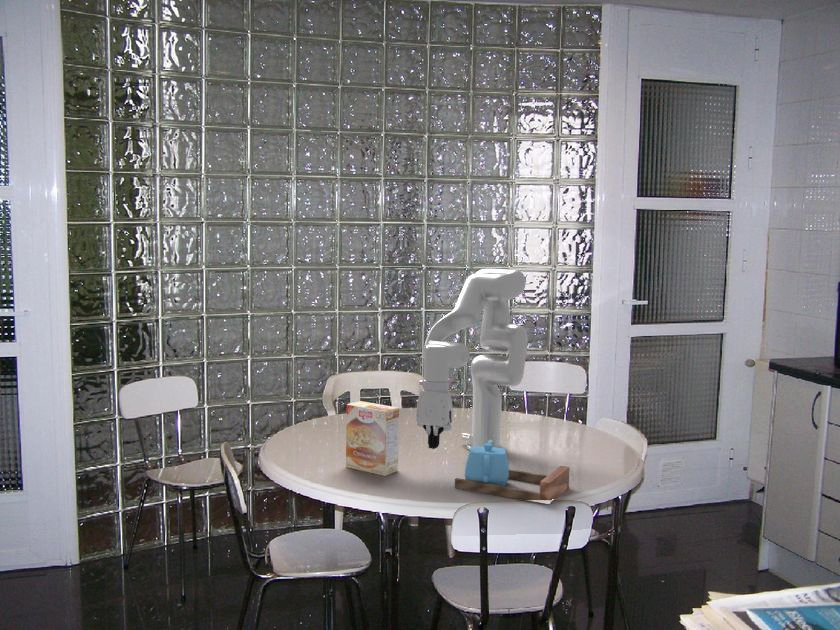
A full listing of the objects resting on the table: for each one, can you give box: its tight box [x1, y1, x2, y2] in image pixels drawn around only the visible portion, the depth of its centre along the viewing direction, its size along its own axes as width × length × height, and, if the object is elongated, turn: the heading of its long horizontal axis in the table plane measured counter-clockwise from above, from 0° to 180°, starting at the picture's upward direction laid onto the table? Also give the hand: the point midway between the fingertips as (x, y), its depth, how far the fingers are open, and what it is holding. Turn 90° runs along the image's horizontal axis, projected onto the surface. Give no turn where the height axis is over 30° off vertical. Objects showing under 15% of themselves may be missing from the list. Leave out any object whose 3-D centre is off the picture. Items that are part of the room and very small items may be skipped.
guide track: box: [454, 465, 570, 501], centre depth 223 cm, size 28×17×6 cm, turn 62°
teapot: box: [464, 440, 510, 487], centre depth 226 cm, size 12×18×12 cm
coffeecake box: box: [345, 400, 400, 477], centre depth 237 cm, size 15×7×20 cm, turn 56°
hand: (433, 447), depth 233 cm, fingers closed
